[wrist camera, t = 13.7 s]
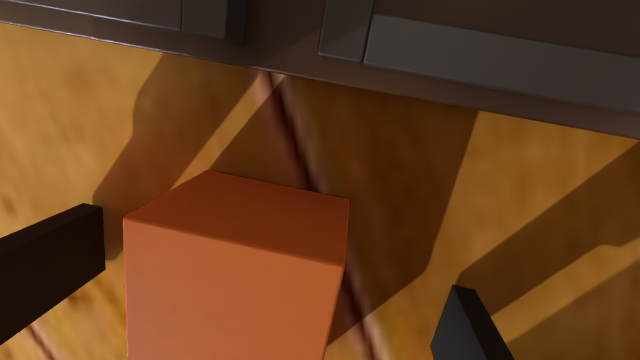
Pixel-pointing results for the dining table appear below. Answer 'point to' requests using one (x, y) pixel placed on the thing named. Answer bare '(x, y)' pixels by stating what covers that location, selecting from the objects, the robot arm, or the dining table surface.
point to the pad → (233, 271)
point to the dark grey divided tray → (397, 47)
